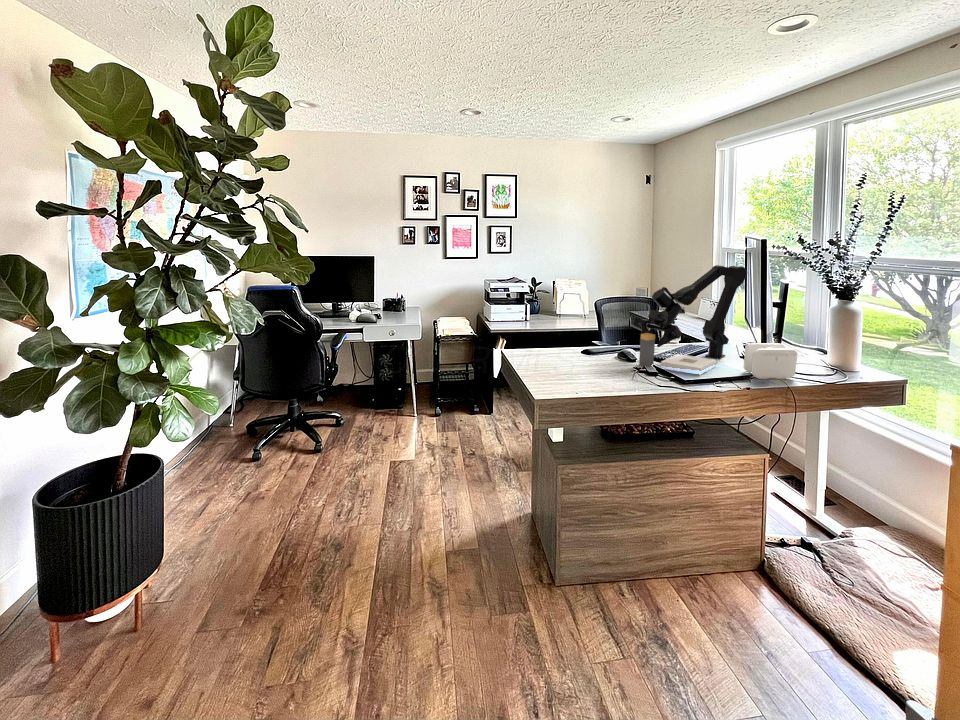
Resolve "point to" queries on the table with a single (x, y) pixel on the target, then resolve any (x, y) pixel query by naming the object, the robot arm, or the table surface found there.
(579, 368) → the table surface
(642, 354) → the plug
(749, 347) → the cable organizer
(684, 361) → the socket block
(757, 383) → the table surface
